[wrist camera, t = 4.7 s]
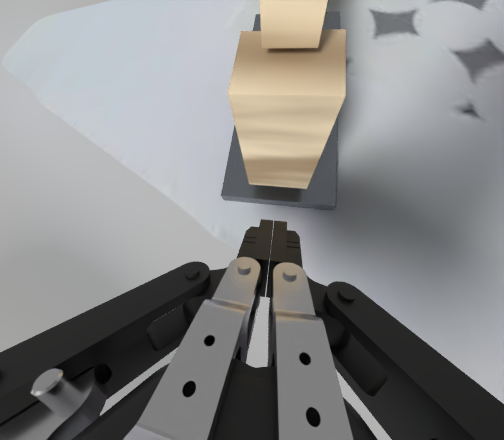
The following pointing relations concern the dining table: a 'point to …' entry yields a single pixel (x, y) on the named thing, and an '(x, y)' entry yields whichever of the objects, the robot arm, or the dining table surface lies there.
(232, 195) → the bolt plate
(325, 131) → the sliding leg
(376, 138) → the dining table surface
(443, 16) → the dining table surface
